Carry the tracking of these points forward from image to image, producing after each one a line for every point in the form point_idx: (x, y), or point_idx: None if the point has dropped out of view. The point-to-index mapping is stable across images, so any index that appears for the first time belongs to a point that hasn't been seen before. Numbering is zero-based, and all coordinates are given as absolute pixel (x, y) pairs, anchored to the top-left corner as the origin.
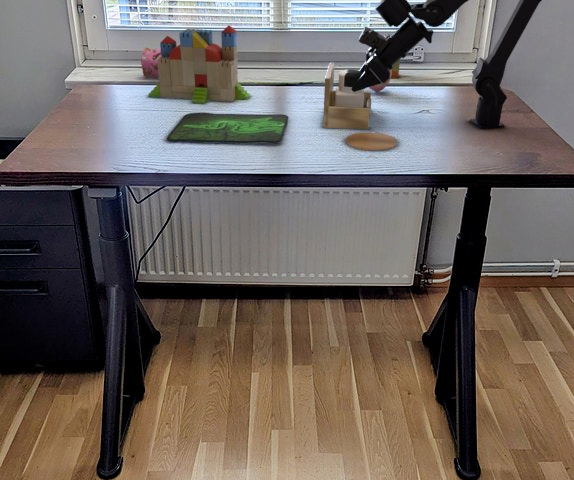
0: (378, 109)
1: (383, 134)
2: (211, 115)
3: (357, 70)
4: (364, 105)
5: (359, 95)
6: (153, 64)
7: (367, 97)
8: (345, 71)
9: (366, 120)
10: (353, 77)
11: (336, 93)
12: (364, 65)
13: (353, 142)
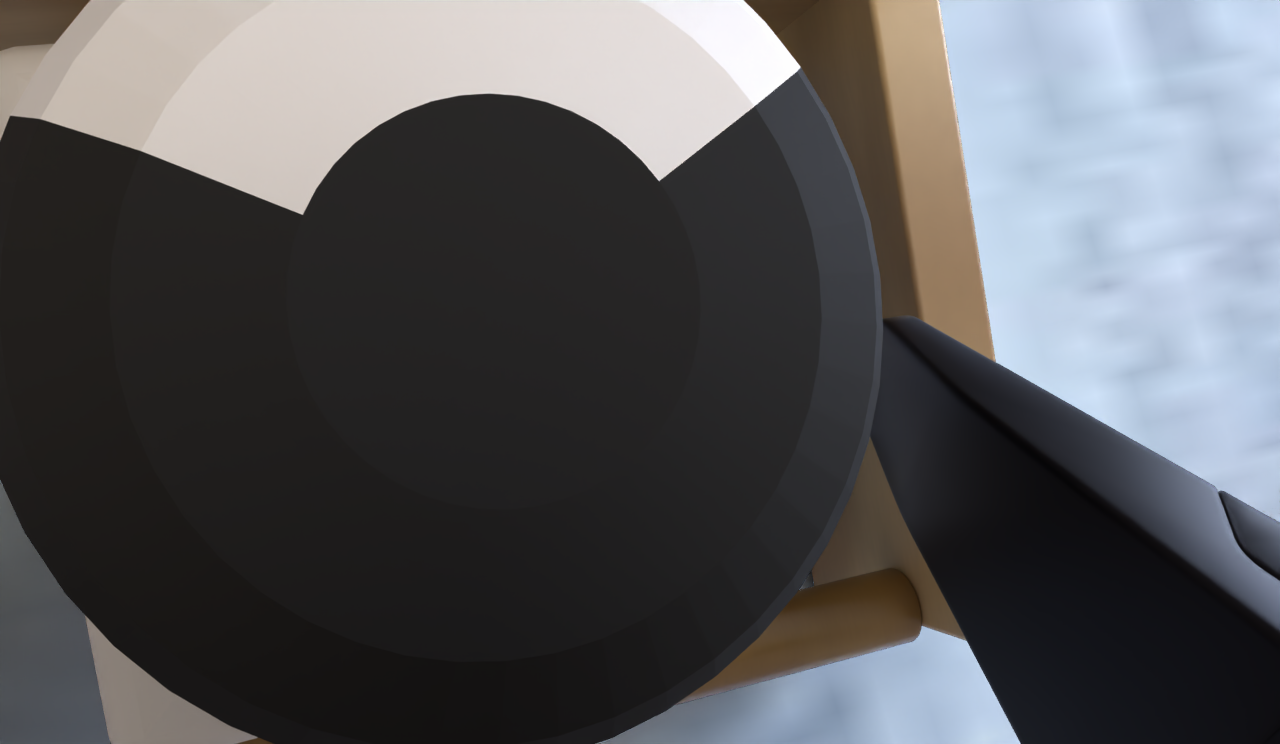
0: (936, 685)
1: None
2: None
3: (729, 510)
4: (838, 525)
5: (99, 660)
6: None
7: (915, 578)
8: (365, 77)
9: None
10: (26, 499)
11: (25, 58)
12: (1256, 647)
13: None
